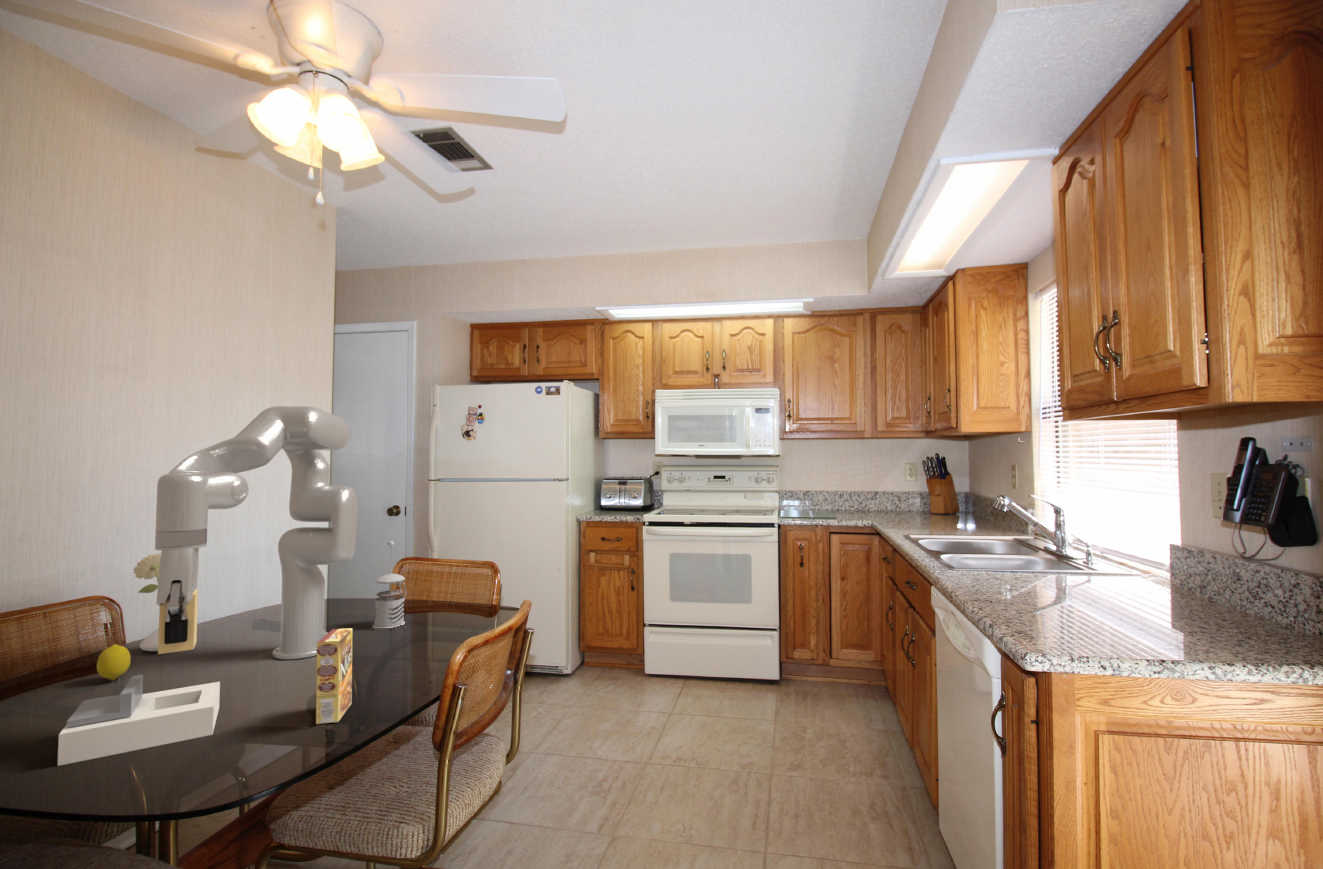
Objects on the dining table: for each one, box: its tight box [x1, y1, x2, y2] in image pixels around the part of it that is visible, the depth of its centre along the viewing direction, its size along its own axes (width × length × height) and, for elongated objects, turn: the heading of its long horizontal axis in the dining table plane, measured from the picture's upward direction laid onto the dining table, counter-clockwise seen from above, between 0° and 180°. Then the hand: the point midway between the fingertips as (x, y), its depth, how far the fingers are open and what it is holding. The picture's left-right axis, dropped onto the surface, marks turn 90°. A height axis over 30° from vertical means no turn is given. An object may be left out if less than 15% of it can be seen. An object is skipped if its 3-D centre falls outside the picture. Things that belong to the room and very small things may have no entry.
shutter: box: [66, 674, 144, 728], centre depth 104 cm, size 8×10×4 cm
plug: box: [157, 586, 199, 655], centre depth 110 cm, size 5×5×12 cm
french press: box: [372, 540, 407, 628], centre depth 176 cm, size 10×12×25 cm
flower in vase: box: [133, 552, 161, 652], centre depth 154 cm, size 13×11×25 cm
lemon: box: [96, 643, 131, 682], centre depth 132 cm, size 6×6×8 cm
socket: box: [57, 681, 221, 767], centre depth 107 cm, size 20×14×5 cm
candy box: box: [315, 627, 353, 725], centre depth 115 cm, size 9×4×15 cm, turn 13°
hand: (178, 637), depth 109 cm, fingers closed on plug, 5 cm apart
